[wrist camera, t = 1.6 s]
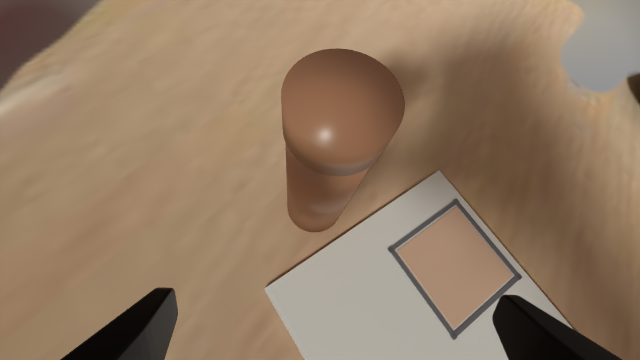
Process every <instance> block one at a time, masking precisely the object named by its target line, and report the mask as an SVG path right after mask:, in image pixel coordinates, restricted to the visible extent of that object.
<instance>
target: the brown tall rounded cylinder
mask: <svg viewBox="0 0 640 360" xmlns="http://www.w3.org/2000/svg"><path fill="white" fill-rule="evenodd" d="M281 102H282V124H283V135H284V139H285V142H286V173H287V207H288V213H289V216H290V218H291V220H292V221H293V222H294V223H295V224H296V225H297V226H298V227H299V228H301V229H303V230H305V231H308V232H321V231H324V230H327V229H329V228H330V227H331V226H333V225H334V224H335V222H336V221H337V220H338V218H339V216H340V215H341V213H342V212H343V210H344V208H345V207H346V205H347V204H348V202H349V200H350V199H351V197H352V196H353V194H354V192H355V191H356V189H357V188H358V186H359V184H360V183H361V181H362V180H363V178H364V176H365V175H366V173H367V172H368V170H369V168H370V167H371V165H373V164H374V163H375V162H376V161H377V159H378V158H379V157H380V156H381V154H382V152H383V151H384V149H385V148H386V146H387V145H388V143H389V142H390V140H391V138H392V137H393V135H394V134H395V132H396V131H397V129H398V127H399V126H400V124H401V121H402V119H403V115H404V106H405V103H404V96H403V92H402V89H401V87H400V85H399V83H398V81H397V80H396V78H395V77H394V75H393V74H392V73H391V72H390V71H389V70H388V69H387V68H386V67H385V66H384V65H383V64H381V63H380V62H379V61H377V60H376V59H374V58H372V57H370V56H368V55H366V54H363V53H360V52H357V51H353V50H348V49H326V50H321V51H317V52H314V53H312V54H309V55H307V56H305V57H304V58H302V59H301V60H299V61H298V62H297V63H296V64H295V65H294V66H293V67H292V68H291V69H290V70H289V72H288V73H287V75H286V77H285V79H284V82H283V86H282V92H281Z"/></svg>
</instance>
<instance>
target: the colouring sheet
mask: <svg viewBox="0 0 640 360" xmlns="http://www.w3.org/2000/svg"><path fill="white" fill-rule="evenodd" d="M264 290H265V292H266V293H267V295H268V297H269V299H270V300H271V302H272V304H273V306H274V307H275V309H276V311H277V313H278V314H279V316H280V318H281V319H282V321H283V323H284V325H285V326H286V328H287V330H288V332H289V333H290V335H291V337H292V339H293V340H294V342H295V344H296V346H297V347H298V349H299V351H300V352H301V354H302V356H303V358H304V359H305V360H508V357H507V355H506V353H505V350H504V348H503V346H502V343H501V341H500V339H499V336H498V334H497V332H496V329H495V327H494V325H493V321H492V315H493V312H494V310H495V308H496V306H497V303H498V301H499V299H500V297H501V296H502V295H518V296H520V297H522V298H524V299H525V300H527V301H528V302H530V303H532V304H533V305H535V306H536V307H538V308H540V309H541V310H543V311H545V312H546V313H548V314H549V315H551V316H553V317H554V318H556V319H557V320H559V321H561V322H562V323H564V324H565V325H567V326H569V327H570V328H572V327H571V326H570V325H569V323H568V322H567V321H566V320H565V319H564V318H563V316H562V315H561V314H560V313H559V312H558V310H557V309H556V308H555V307H554V306H553V305H552V303H551V302H550V301H549V300H548V299H547V297H546V296H545V295H544V294H543V293H542V291H541V290H540V289H539V288H538V287H537V286H536V284H535V283H534V282H533V281H532V280H531V278H530V277H529V276H528V275H527V274H526V272H525V271H524V270H523V269H522V268H521V267H520V265H519V264H518V263H517V262H516V261H515V259H514V258H513V257H512V256H511V255H510V254H509V252H508V251H507V250H506V249H505V248H504V246H503V245H502V244H501V243H500V242H499V240H498V239H497V238H496V237H495V236H494V235H493V233H492V232H491V231H490V230H489V229H488V227H487V226H486V225H485V224H484V223H483V222H482V220H481V219H480V218H479V217H478V216H477V214H476V213H475V212H474V211H473V210H472V208H471V207H470V206H469V205H468V204H467V203H466V201H465V200H464V199H463V198H462V197H461V195H460V194H459V193H458V192H457V191H456V189H455V188H454V187H453V186H452V185H451V184H450V182H449V181H448V180H447V179H446V178H445V176H444V175H443V174H442V173H441V172H440V171H439V170H438V171H437V172H436V173H434V174H433V175H431V176H430V177H428V178H427V179H425V180H424V181H422V182H421V183H419V184H418V185H416V186H415V187H413V188H412V189H410V190H409V191H408V192H406V193H405V194H403V195H402V196H400V197H399V198H397V199H396V200H394V201H393V202H391V203H390V204H388V205H387V206H385V207H384V208H382V209H381V210H379V211H378V212H377V213H375V214H374V215H372V216H371V217H369V218H368V219H366V220H365V221H363V222H362V223H360V224H359V225H357V226H356V227H354V228H353V229H351V230H350V231H349V232H347V233H346V234H344V235H343V236H341V237H340V238H338V239H337V240H335V241H334V242H332V243H331V244H329V245H328V246H326V247H325V248H323V249H322V250H320V251H319V252H318V253H316V254H315V255H313V256H312V257H310V258H309V259H307V260H306V261H304V262H303V263H301V264H300V265H298V266H297V267H295V268H294V269H292V270H291V271H289V272H288V273H287V274H285V275H284V276H282V277H281V278H279V279H278V280H276V281H275V282H273V283H272V284H270V285H269V286H267V287H266V288H264ZM572 329H573V328H572Z"/></svg>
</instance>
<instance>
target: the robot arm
mask: <svg viewBox="0 0 640 360" xmlns="http://www.w3.org/2000/svg"><path fill="white" fill-rule="evenodd" d="M177 316H178V309H177V302H176V296H175V291H174V289H173V288H156V289H154V290H153V291H151V292H150V293H149V294H147V295H146V296H145V297H143V298H142V299H141V300H139V301H138V302H137V303H135V304H134V305H133V306H131V307H130V308H129V309H127V310H126V311H125V312H123V313H122V314H121V315H119V316H118V317H117V318H115V319H114V320H113V321H111V322H110V323H109V324H107V325H106V326H105V327H103V328H102V329H101V330H99V331H98V332H97V333H95V334H94V335H93V336H91V337H90V338H89V339H87V340H86V341H85V342H83V343H82V344H81V345H79V346H78V347H77V348H75V349H74V350H73V351H71V352H70V353H69V354H67V355H66V356H65V357H63V358H62V359H61V360H164V359H165V356H166V353H167V349H168V346H169V343H170V340H171V337H172V334H173V330H174V327H175V324H176V321H177ZM492 321H493V325H494V327H495V329H496V332H497V334H498V336H499V339H500V341H501V343H502V346H503V348H504V350H505V353H506V355H507V357H508V360H622V359H620V358H619V357H617V356H616V355H614V354H612V353H611V352H609V351H607V350H606V349H604V348H603V347H601V346H599V345H598V344H596V343H595V342H593V341H591V340H590V339H588V338H586V337H585V336H583V335H582V334H580V333H578V332H577V331H575V330H574V329H572V328H570V327H569V326H567V325H565V324H564V323H562V322H561V321H559V320H557V319H556V318H554V317H553V316H551V315H549V314H548V313H546V312H545V311H543V310H541V309H540V308H538V307H536V306H535V305H533V304H532V303H530V302H528V301H527V300H525V299H524V298H522V297H520V296H518V295H502V296H501V297H500V299H499V301H498V303H497V306H496V308H495V310H494V312H493V315H492Z"/></svg>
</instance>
